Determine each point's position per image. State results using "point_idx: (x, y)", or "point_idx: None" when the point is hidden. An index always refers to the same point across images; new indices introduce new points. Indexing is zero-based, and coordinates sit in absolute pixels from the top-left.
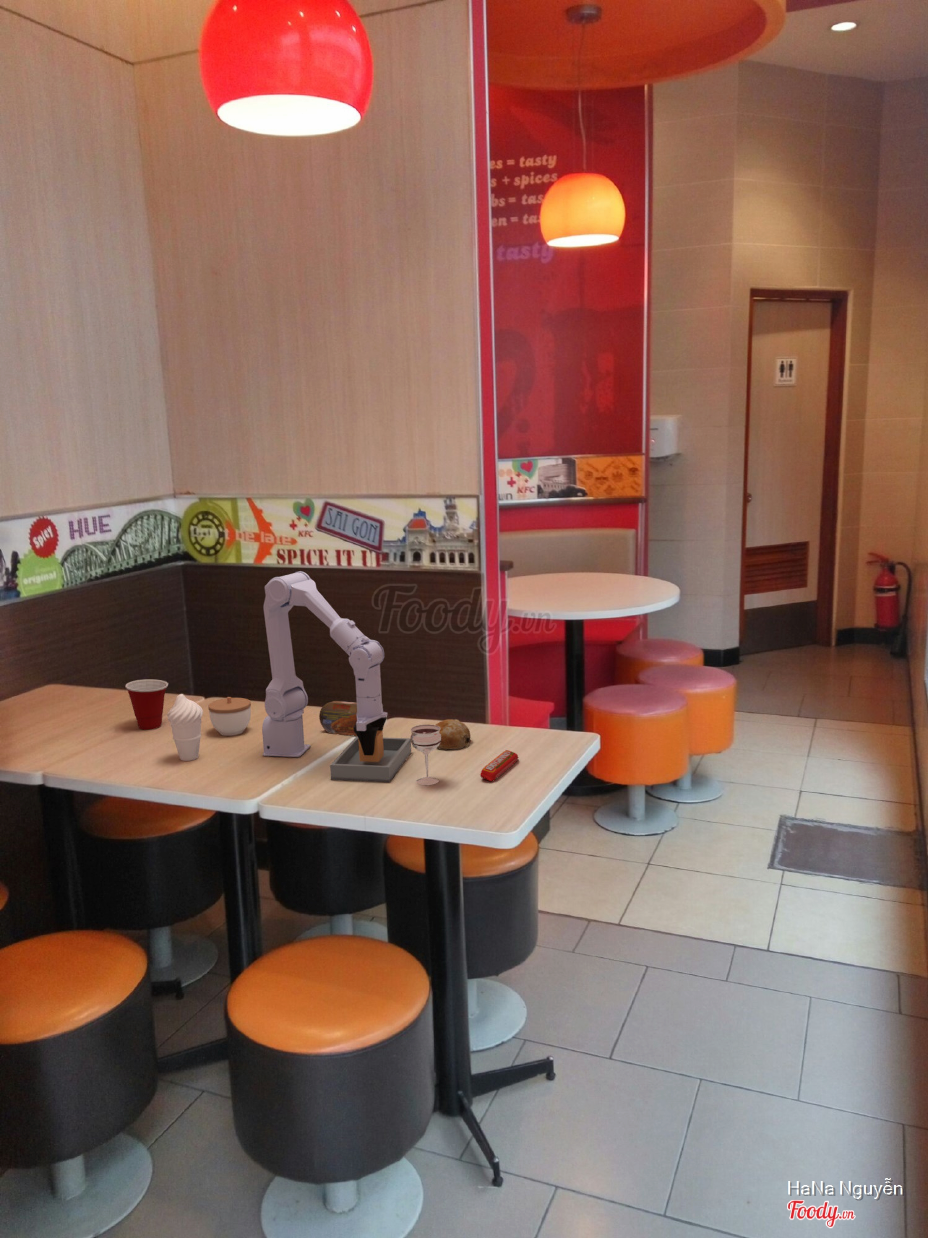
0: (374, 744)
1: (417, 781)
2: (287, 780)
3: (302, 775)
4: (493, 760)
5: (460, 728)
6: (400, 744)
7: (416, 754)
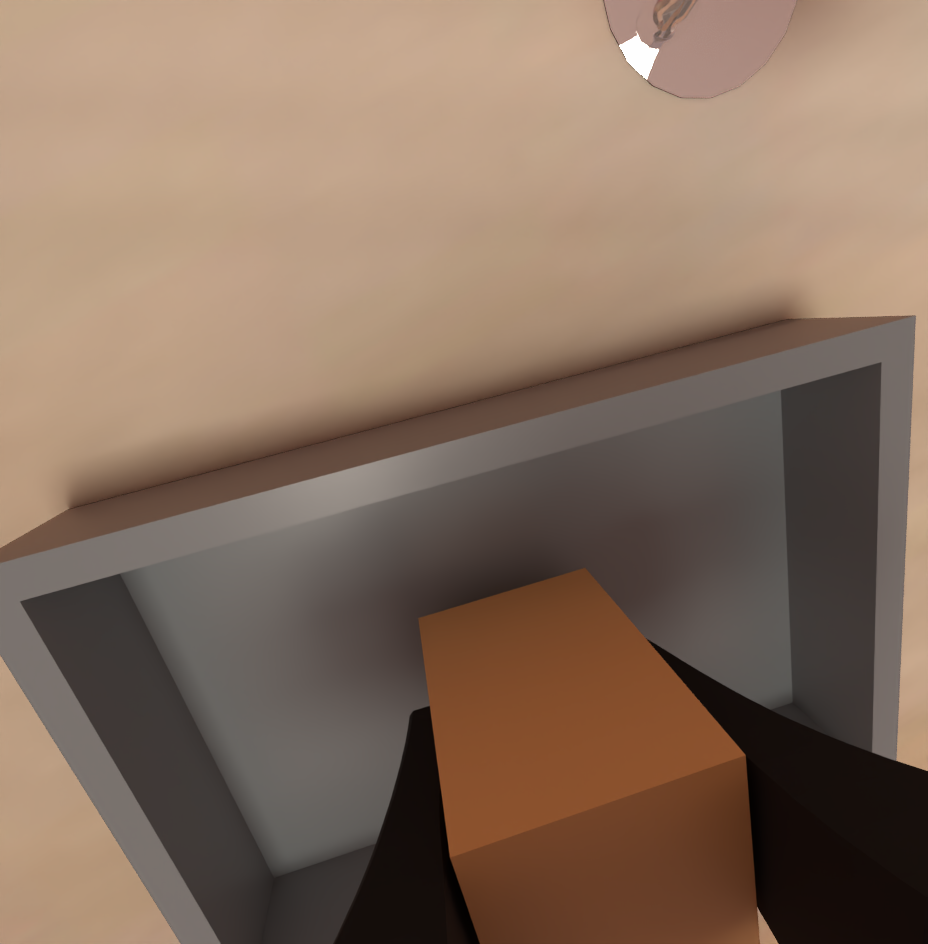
0: (701, 699)
1: (743, 70)
2: None
3: None
4: None
5: None
6: (95, 632)
7: (88, 437)
